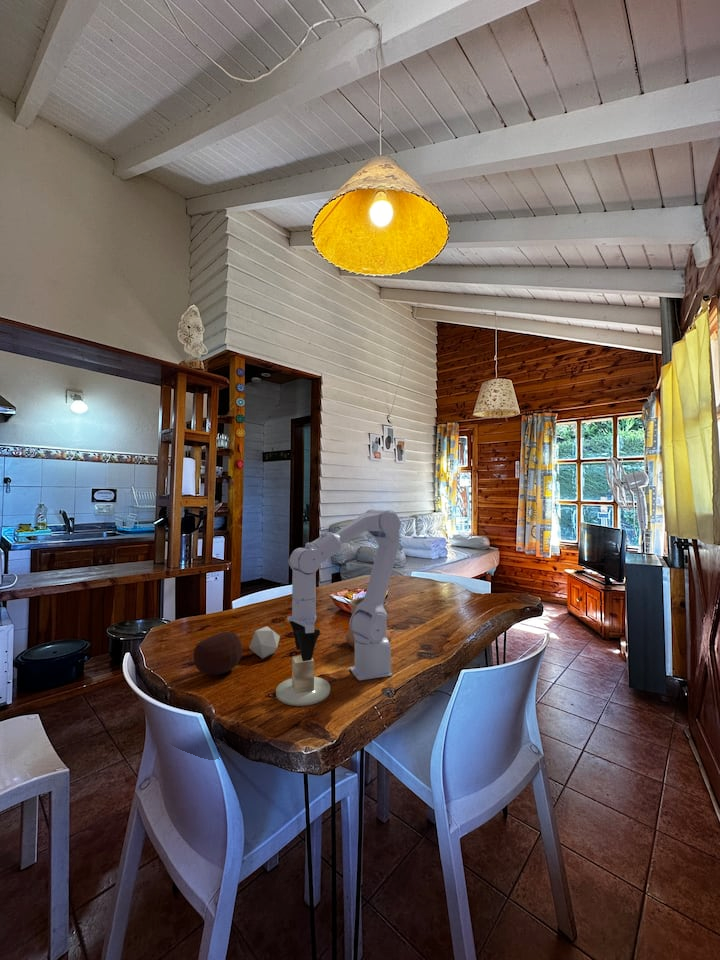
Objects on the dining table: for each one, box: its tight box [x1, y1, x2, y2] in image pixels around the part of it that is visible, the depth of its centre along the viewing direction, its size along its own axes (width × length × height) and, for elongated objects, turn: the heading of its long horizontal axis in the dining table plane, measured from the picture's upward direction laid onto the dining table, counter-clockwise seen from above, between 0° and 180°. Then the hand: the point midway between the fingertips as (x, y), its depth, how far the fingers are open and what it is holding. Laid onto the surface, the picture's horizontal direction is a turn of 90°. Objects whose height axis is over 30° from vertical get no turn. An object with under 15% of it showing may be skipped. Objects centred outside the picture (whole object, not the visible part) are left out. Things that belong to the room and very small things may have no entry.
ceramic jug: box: [345, 596, 392, 649], centre depth 128 cm, size 18×14×14 cm
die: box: [248, 626, 281, 660], centre depth 120 cm, size 8×9×10 cm
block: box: [291, 654, 315, 694], centre depth 97 cm, size 4×4×7 cm
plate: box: [275, 676, 331, 707], centre depth 97 cm, size 13×13×1 cm
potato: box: [192, 631, 243, 676], centre depth 108 cm, size 11×13×10 cm
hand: (303, 654), depth 97 cm, fingers open, 7 cm apart
